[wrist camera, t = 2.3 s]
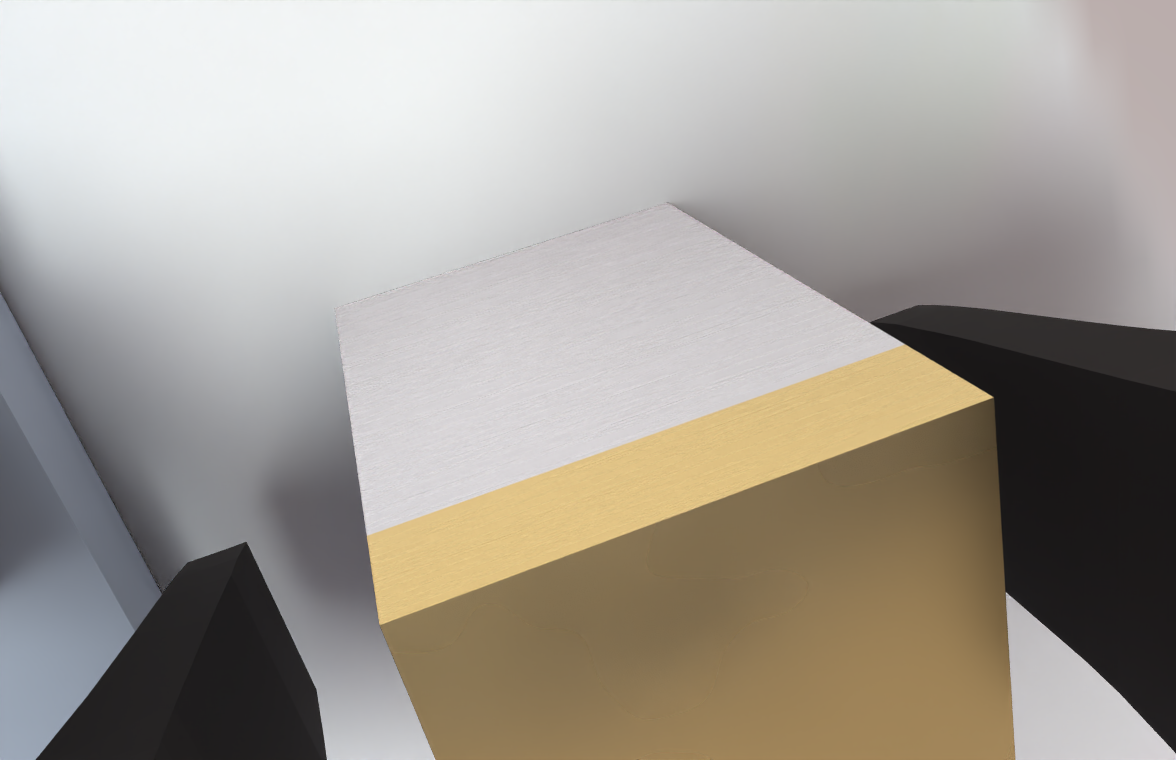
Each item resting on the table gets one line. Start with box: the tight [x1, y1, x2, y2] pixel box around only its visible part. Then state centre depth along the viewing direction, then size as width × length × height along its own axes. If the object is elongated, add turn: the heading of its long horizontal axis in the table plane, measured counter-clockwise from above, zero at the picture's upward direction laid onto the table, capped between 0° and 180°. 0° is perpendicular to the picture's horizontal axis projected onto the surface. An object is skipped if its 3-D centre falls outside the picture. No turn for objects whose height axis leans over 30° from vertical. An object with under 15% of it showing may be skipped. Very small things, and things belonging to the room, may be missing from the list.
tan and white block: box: [334, 203, 1015, 760], centre depth 10 cm, size 5×4×6 cm
